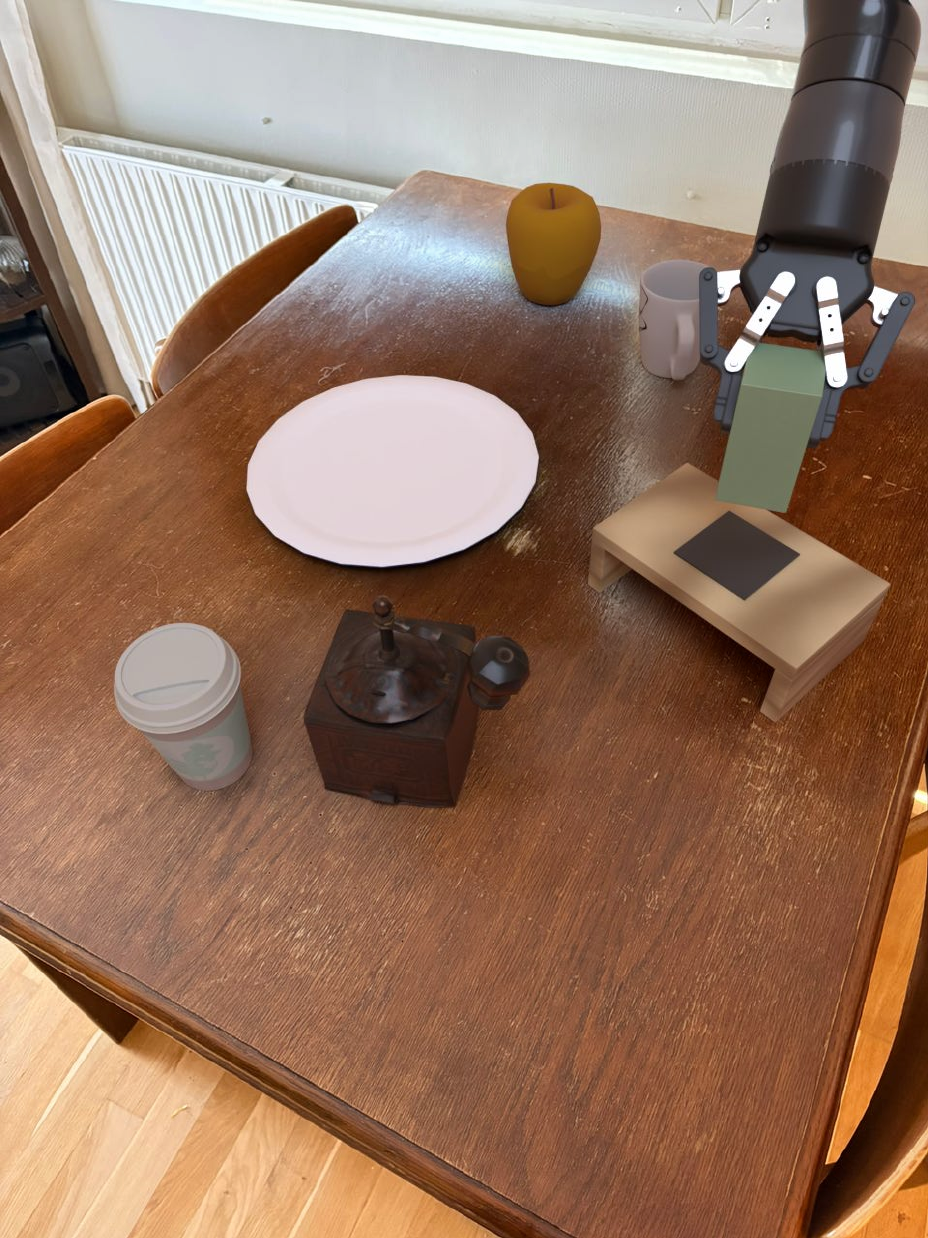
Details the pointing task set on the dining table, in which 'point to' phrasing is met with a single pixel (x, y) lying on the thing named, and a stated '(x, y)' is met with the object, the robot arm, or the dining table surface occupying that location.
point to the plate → (392, 471)
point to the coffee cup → (187, 702)
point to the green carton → (771, 426)
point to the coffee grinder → (406, 704)
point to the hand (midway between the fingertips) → (768, 438)
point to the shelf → (743, 578)
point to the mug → (670, 318)
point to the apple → (552, 240)
